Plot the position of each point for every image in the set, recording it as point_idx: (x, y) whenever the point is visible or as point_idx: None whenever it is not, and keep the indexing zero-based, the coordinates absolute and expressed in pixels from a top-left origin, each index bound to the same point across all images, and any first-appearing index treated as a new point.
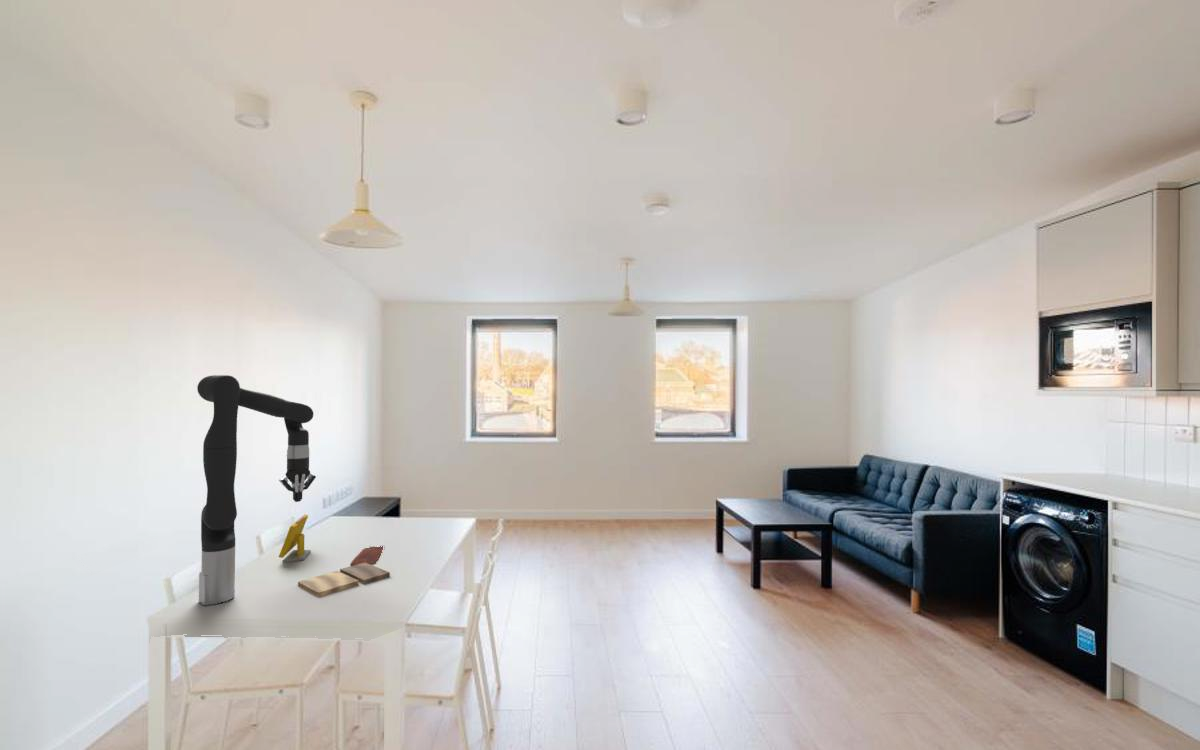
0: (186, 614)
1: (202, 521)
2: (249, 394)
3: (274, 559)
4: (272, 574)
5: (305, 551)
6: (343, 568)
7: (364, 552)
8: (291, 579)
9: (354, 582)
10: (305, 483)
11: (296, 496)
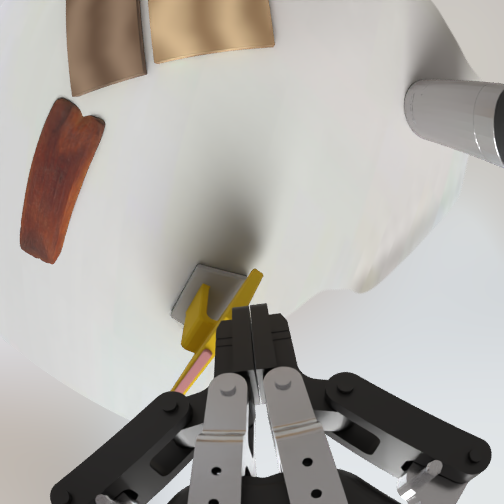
0: None
1: None
2: None
3: None
4: (295, 197)
5: (183, 312)
6: (133, 73)
7: (57, 211)
8: (269, 115)
9: None
10: (171, 466)
11: (272, 340)
